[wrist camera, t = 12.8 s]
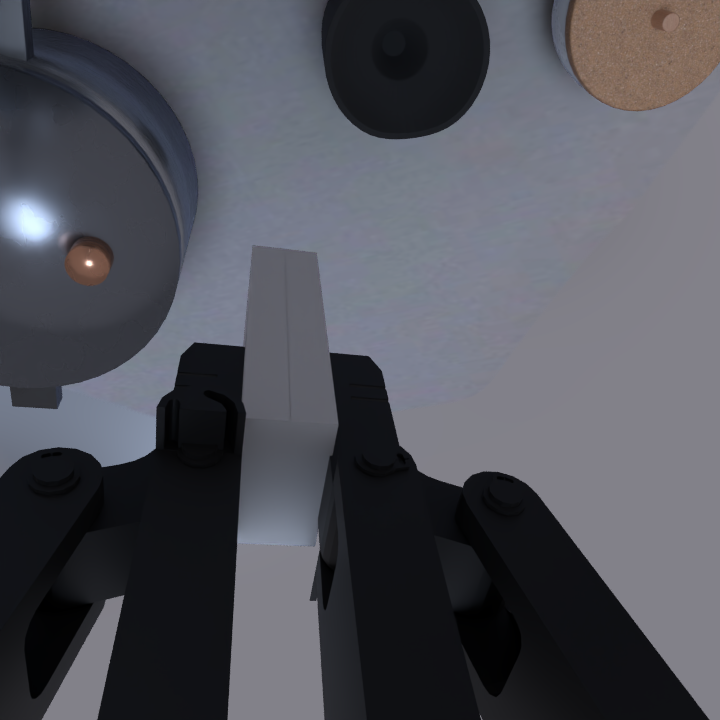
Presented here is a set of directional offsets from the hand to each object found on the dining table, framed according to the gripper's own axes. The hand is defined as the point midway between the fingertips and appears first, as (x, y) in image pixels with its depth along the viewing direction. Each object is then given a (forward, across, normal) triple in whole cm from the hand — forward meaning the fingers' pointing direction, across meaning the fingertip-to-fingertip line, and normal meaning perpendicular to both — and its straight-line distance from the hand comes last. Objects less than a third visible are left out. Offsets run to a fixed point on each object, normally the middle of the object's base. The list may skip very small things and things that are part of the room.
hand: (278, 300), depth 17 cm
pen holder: (+37, +7, +2) cm, 37 cm away
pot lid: (+25, -17, -11) cm, 32 cm away
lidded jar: (+37, +22, +6) cm, 43 cm away
